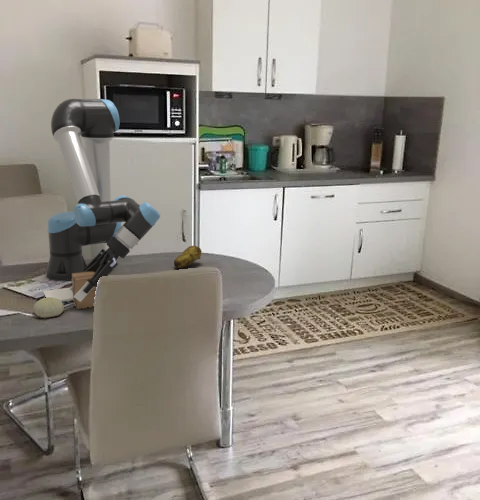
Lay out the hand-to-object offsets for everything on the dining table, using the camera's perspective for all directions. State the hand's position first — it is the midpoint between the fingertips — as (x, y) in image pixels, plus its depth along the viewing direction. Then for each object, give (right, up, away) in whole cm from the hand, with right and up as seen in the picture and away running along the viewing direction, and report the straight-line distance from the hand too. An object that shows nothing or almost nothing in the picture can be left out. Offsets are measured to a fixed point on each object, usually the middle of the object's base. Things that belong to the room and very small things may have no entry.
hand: (74, 295), depth 184 cm
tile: (-6, -1, +8) cm, 10 cm away
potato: (+32, +8, +45) cm, 56 cm away
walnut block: (+3, -3, +2) cm, 5 cm away
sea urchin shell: (-6, -6, -6) cm, 10 cm away
